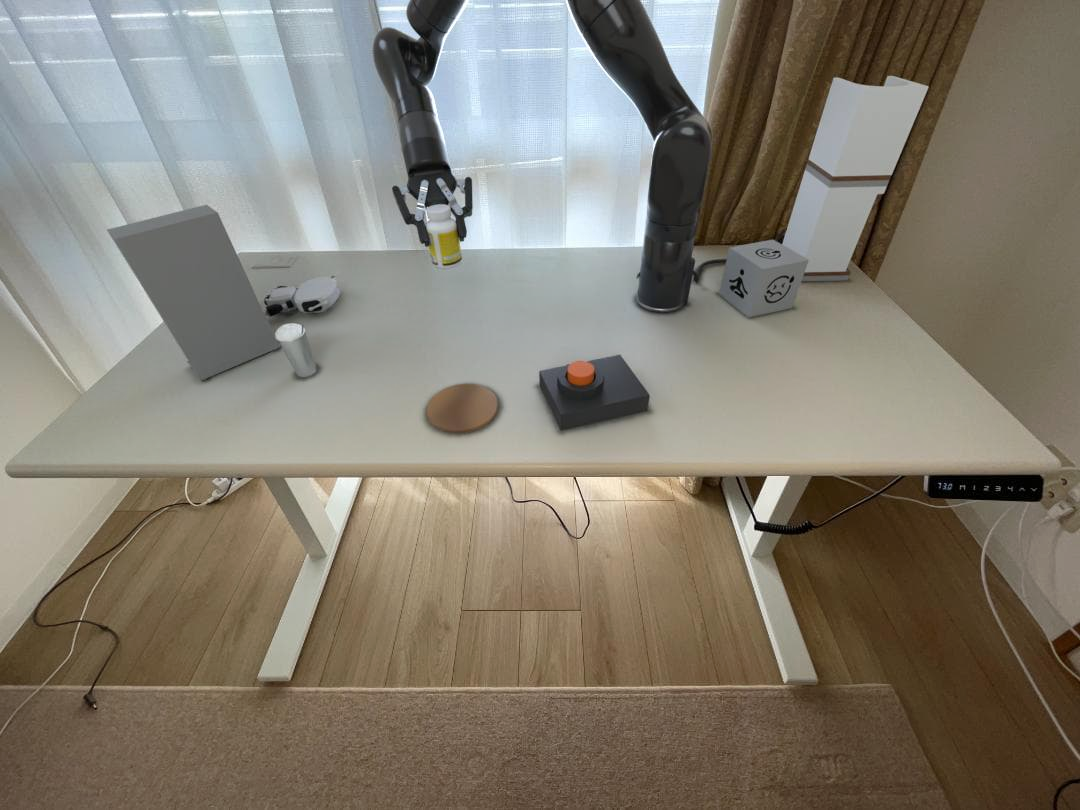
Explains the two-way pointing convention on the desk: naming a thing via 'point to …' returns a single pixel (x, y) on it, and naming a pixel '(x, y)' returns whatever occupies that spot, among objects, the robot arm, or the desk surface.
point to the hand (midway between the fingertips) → (444, 241)
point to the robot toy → (303, 297)
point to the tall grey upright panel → (197, 287)
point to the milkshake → (296, 348)
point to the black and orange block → (594, 393)
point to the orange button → (580, 373)
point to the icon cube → (762, 277)
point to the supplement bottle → (443, 237)
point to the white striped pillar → (849, 170)
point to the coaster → (462, 408)
